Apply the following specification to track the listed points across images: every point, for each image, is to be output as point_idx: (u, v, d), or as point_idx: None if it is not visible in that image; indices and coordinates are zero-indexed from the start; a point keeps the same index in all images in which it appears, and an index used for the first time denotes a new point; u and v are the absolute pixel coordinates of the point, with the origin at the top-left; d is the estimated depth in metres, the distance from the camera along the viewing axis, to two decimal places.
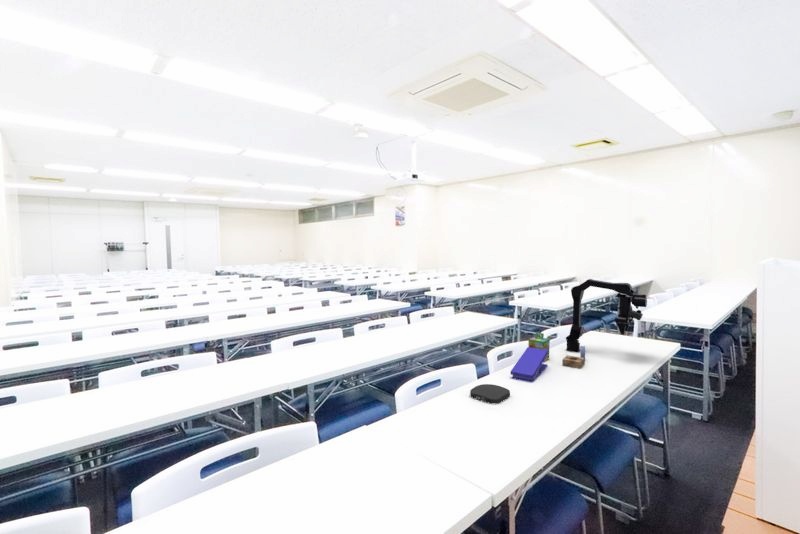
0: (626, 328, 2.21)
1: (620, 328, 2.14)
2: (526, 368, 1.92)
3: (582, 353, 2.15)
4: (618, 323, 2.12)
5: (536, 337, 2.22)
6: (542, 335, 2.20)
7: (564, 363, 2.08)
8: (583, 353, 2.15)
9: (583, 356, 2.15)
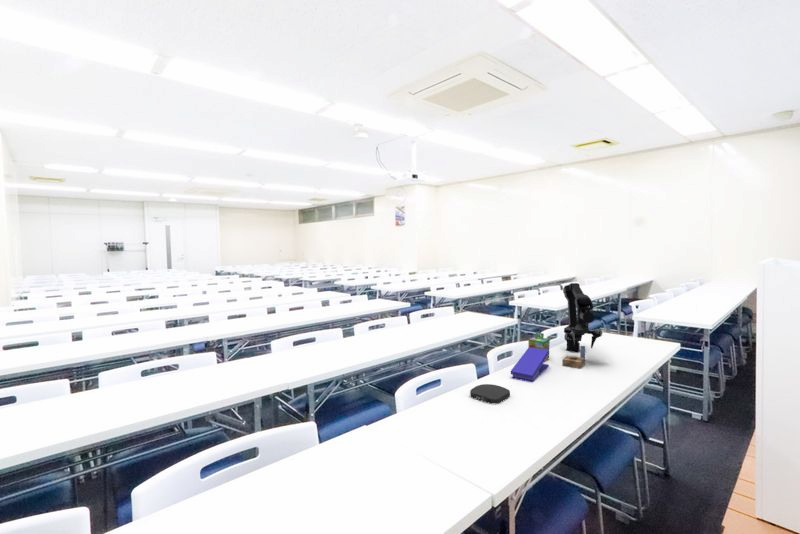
0: (591, 344, 2.13)
1: None
2: (526, 368, 1.92)
3: (582, 353, 2.15)
4: None
5: (536, 337, 2.22)
6: (542, 335, 2.20)
7: (564, 363, 2.08)
8: (583, 353, 2.15)
9: (583, 356, 2.15)
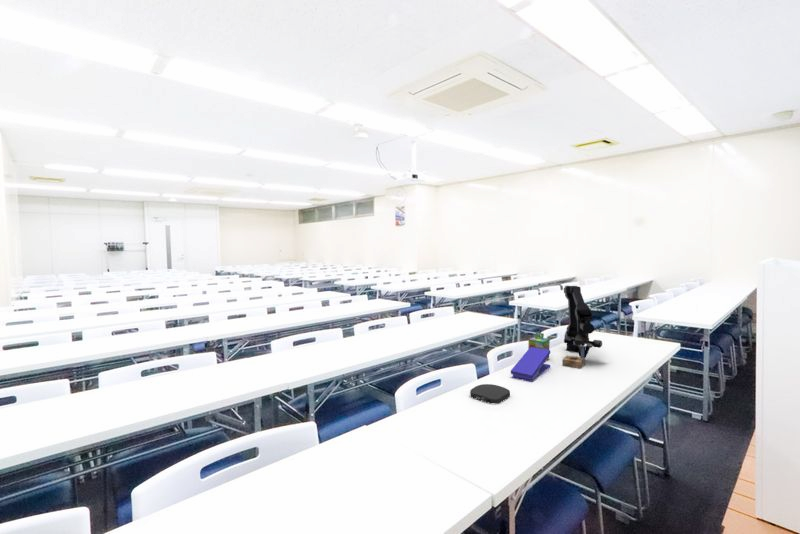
0: (585, 354, 2.15)
1: None
2: (526, 368, 1.92)
3: (582, 353, 2.15)
4: None
5: (536, 337, 2.22)
6: (542, 335, 2.20)
7: (564, 363, 2.08)
8: (583, 353, 2.15)
9: (583, 356, 2.15)
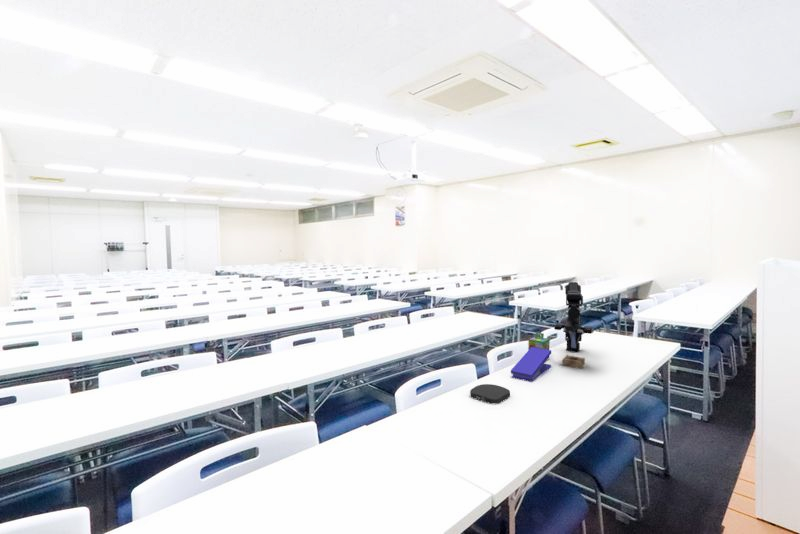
0: (576, 341, 2.07)
1: None
2: (526, 368, 1.93)
3: (573, 340, 2.07)
4: None
5: (536, 337, 2.22)
6: (542, 335, 2.20)
7: (564, 363, 2.08)
8: (574, 340, 2.07)
9: (574, 343, 2.07)
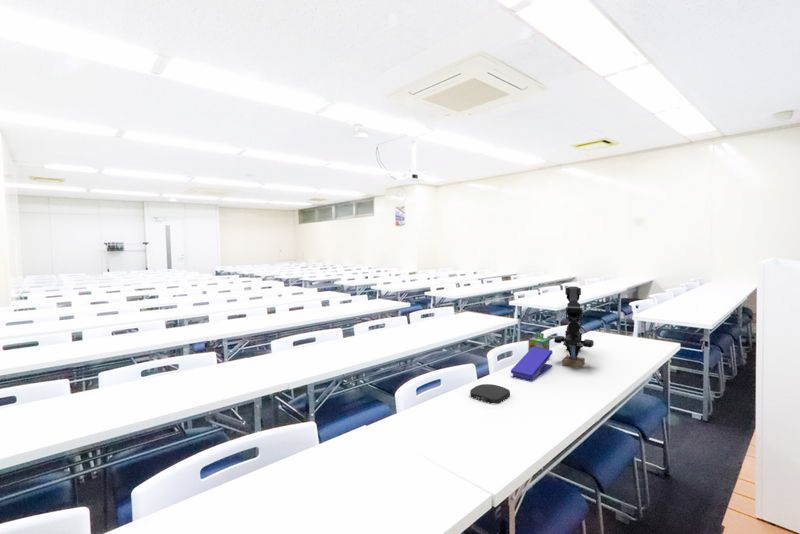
0: None
1: None
2: (527, 367, 1.93)
3: (573, 353, 2.08)
4: None
5: (536, 337, 2.22)
6: (542, 335, 2.20)
7: (564, 363, 2.08)
8: (574, 353, 2.08)
9: (574, 356, 2.08)
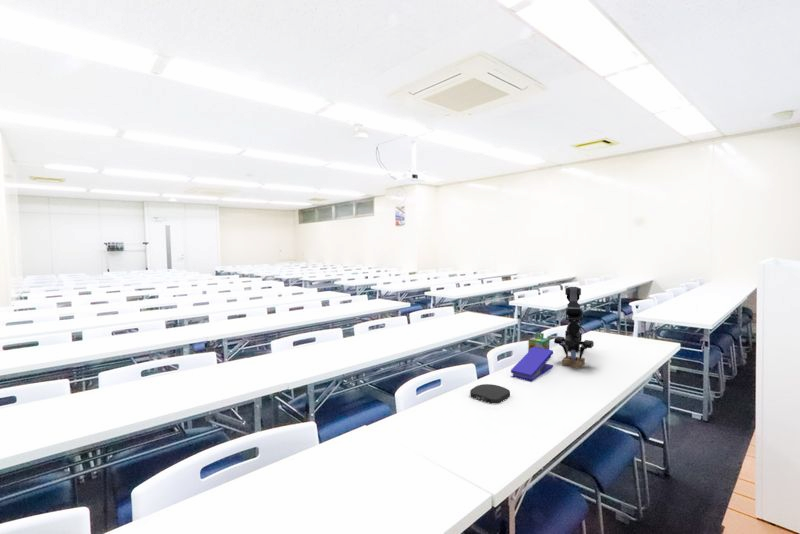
0: None
1: None
2: (527, 367, 1.93)
3: (573, 357, 2.08)
4: None
5: (536, 337, 2.22)
6: (542, 335, 2.20)
7: (564, 363, 2.08)
8: (574, 357, 2.08)
9: None
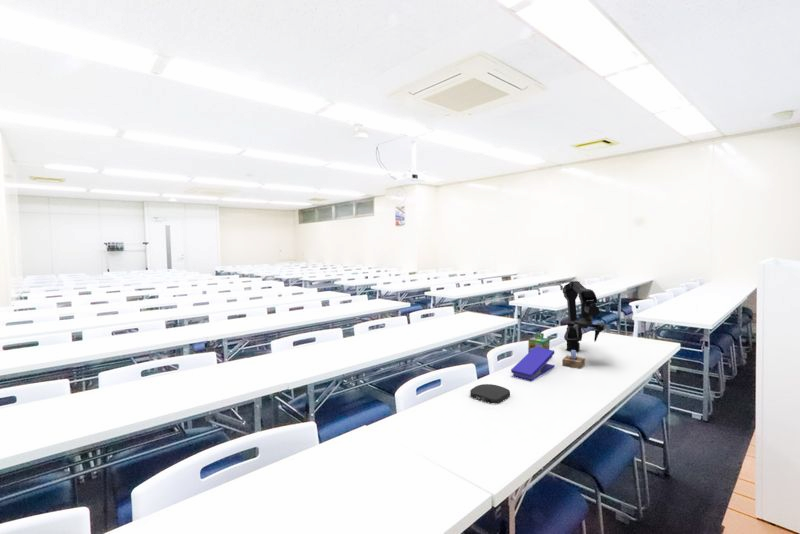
0: None
1: None
2: (527, 367, 1.93)
3: (573, 357, 2.08)
4: None
5: (536, 337, 2.22)
6: (542, 335, 2.20)
7: (564, 363, 2.08)
8: (574, 357, 2.08)
9: None
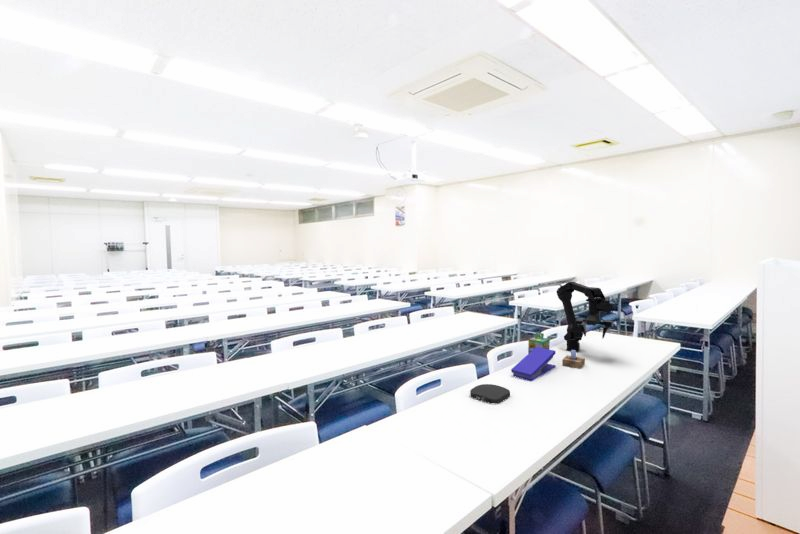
0: None
1: None
2: (527, 367, 1.93)
3: (573, 357, 2.08)
4: None
5: (536, 337, 2.22)
6: (542, 335, 2.20)
7: (564, 363, 2.08)
8: (574, 357, 2.08)
9: None
